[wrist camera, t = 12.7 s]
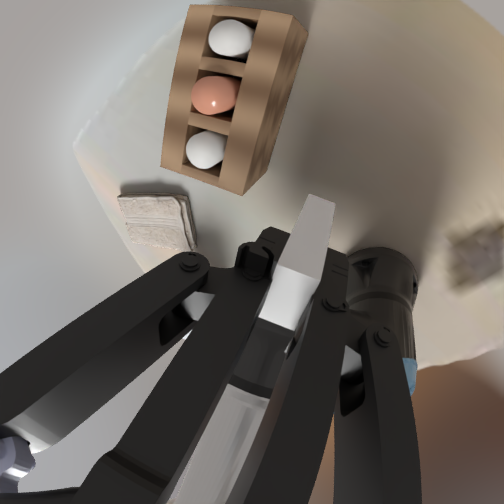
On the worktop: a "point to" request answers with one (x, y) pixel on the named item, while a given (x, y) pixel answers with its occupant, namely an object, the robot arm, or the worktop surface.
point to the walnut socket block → (249, 97)
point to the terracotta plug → (215, 94)
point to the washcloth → (159, 220)
